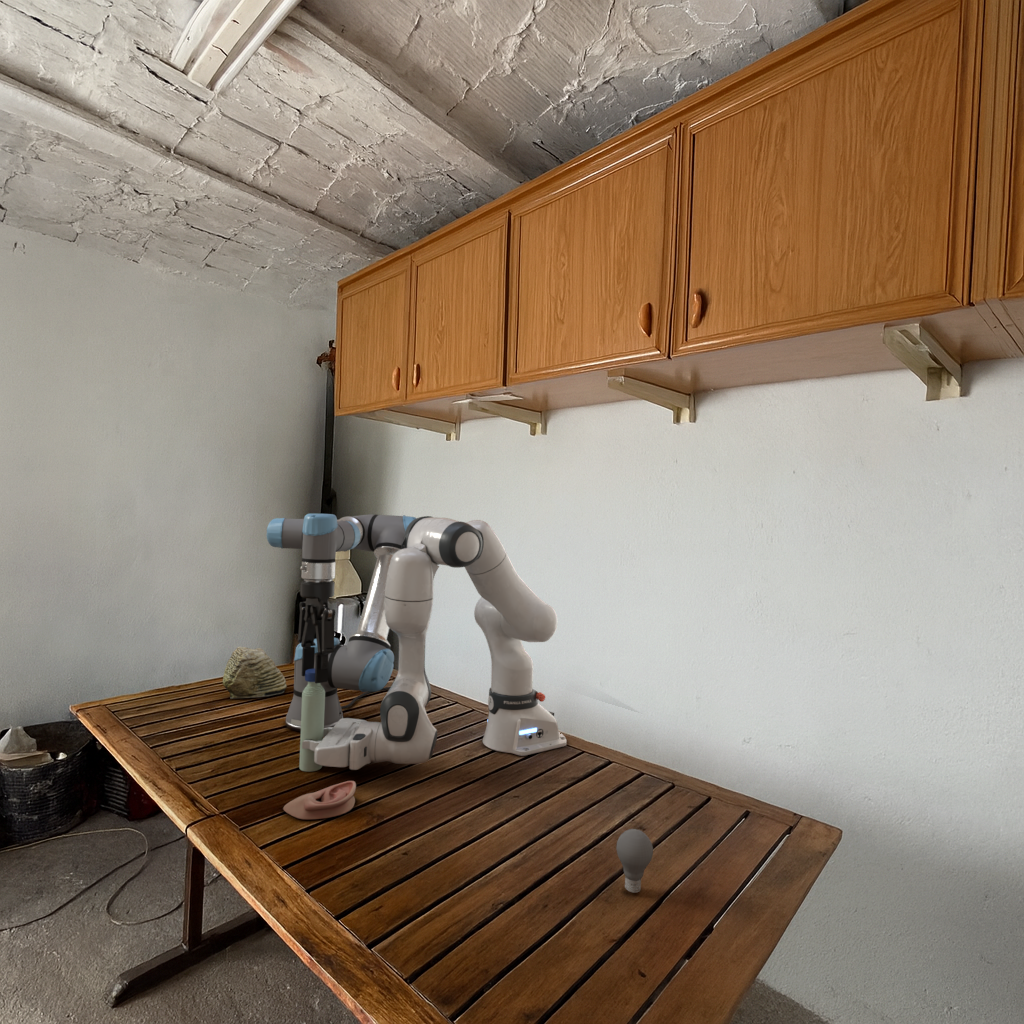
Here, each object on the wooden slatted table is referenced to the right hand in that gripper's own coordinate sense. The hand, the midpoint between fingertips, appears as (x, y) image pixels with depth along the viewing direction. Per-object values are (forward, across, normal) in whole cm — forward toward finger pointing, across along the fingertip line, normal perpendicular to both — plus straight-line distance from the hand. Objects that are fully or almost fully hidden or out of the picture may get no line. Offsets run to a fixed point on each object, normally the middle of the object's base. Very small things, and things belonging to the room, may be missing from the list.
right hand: (308, 738), depth 148 cm
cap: (-1, 0, -16) cm, 16 cm away
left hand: (-1, 0, -14) cm, 14 cm away
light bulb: (-69, +41, +7) cm, 81 cm away
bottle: (-1, 0, +7) cm, 7 cm away
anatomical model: (-9, +19, +7) cm, 22 cm away
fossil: (+34, -49, +7) cm, 60 cm away
